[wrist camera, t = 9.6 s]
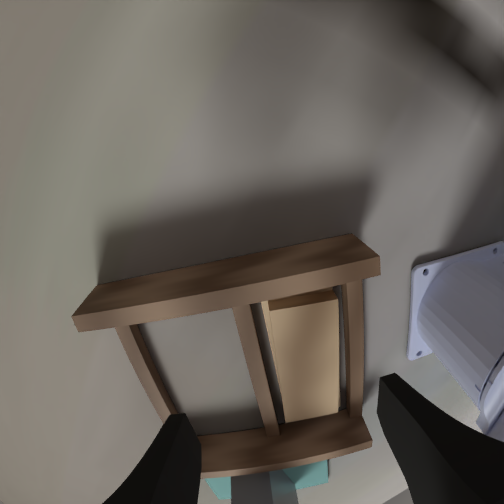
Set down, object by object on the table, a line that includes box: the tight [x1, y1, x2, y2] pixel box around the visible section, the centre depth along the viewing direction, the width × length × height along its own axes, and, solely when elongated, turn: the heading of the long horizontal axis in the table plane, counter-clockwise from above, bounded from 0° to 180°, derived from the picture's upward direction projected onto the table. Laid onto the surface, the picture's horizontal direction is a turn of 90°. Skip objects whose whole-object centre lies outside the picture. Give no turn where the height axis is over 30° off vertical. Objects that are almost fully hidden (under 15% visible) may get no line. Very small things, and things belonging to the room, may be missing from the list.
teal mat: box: [205, 460, 328, 499], centre depth 26 cm, size 12×9×1 cm
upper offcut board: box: [268, 290, 339, 423], centre depth 20 cm, size 4×10×1 cm, turn 9°
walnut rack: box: [71, 233, 381, 479], centre depth 19 cm, size 16×16×4 cm
